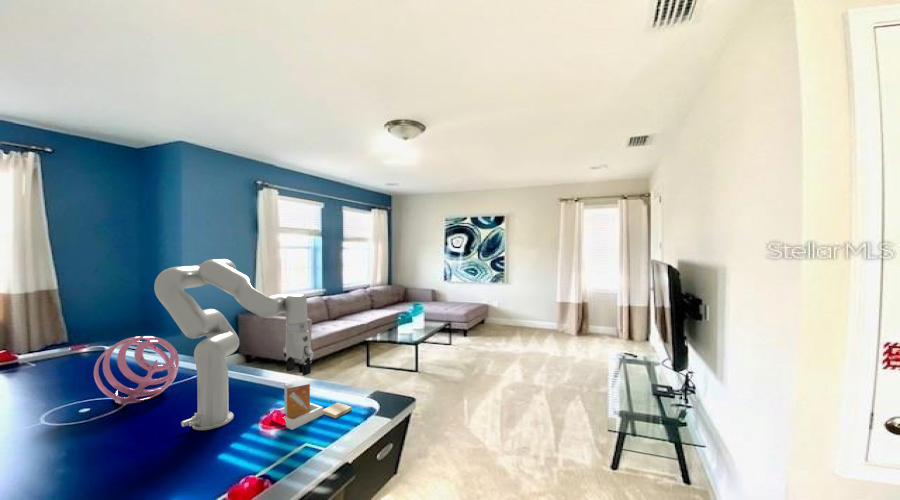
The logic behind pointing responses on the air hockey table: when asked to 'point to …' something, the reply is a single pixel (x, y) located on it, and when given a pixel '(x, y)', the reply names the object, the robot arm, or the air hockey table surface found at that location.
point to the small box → (297, 398)
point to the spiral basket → (142, 363)
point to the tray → (303, 416)
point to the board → (336, 410)
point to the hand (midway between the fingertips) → (298, 372)
